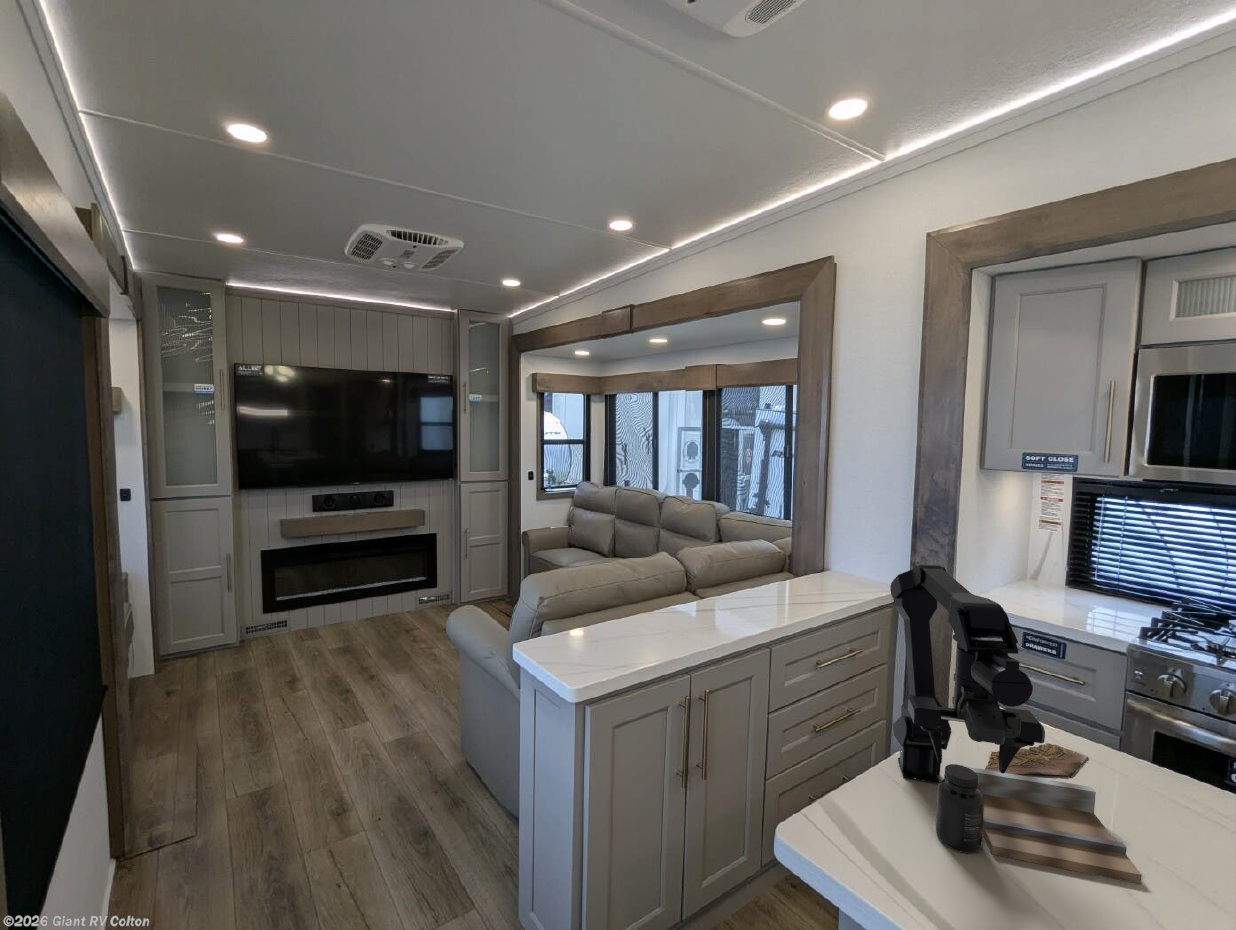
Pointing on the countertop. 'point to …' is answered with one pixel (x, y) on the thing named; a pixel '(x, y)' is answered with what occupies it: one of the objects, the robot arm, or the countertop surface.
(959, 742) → the countertop surface
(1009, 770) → the wooden fragment
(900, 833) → the countertop surface
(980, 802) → the supplement bottle
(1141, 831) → the countertop surface
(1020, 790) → the cleat board
